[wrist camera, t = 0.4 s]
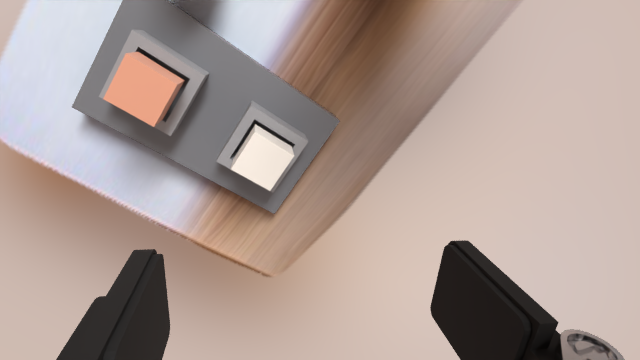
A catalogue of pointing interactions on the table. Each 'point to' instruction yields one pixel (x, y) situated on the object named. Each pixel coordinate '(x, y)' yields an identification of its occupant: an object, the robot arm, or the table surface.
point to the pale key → (262, 158)
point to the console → (205, 99)
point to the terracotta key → (143, 88)
